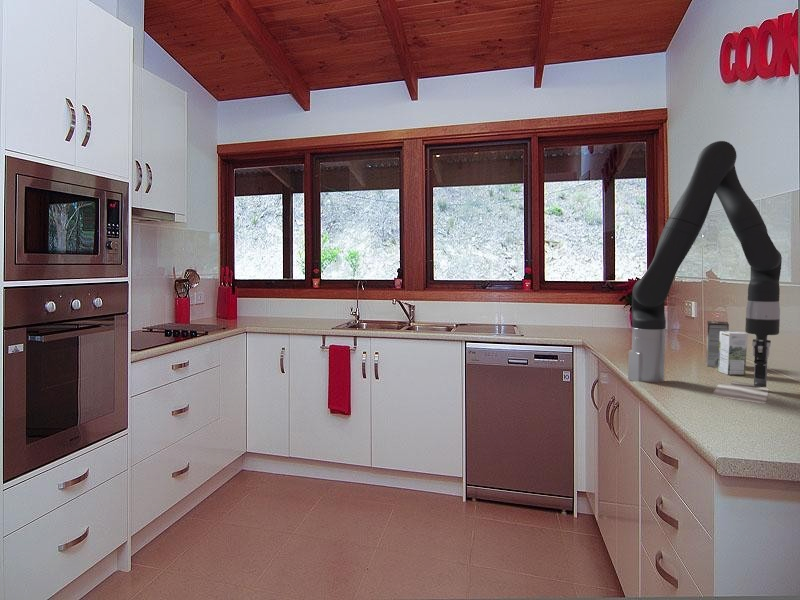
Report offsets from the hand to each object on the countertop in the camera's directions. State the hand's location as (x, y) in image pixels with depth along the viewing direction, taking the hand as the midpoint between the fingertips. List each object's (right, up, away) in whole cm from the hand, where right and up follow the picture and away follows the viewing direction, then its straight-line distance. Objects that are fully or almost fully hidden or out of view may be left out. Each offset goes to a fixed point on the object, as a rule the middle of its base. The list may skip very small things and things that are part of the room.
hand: (760, 377), depth 129 cm
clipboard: (-7, -5, -2) cm, 9 cm away
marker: (0, -3, 0) cm, 3 cm away
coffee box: (+15, -3, +40) cm, 43 cm away
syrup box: (+11, -3, +26) cm, 28 cm away
